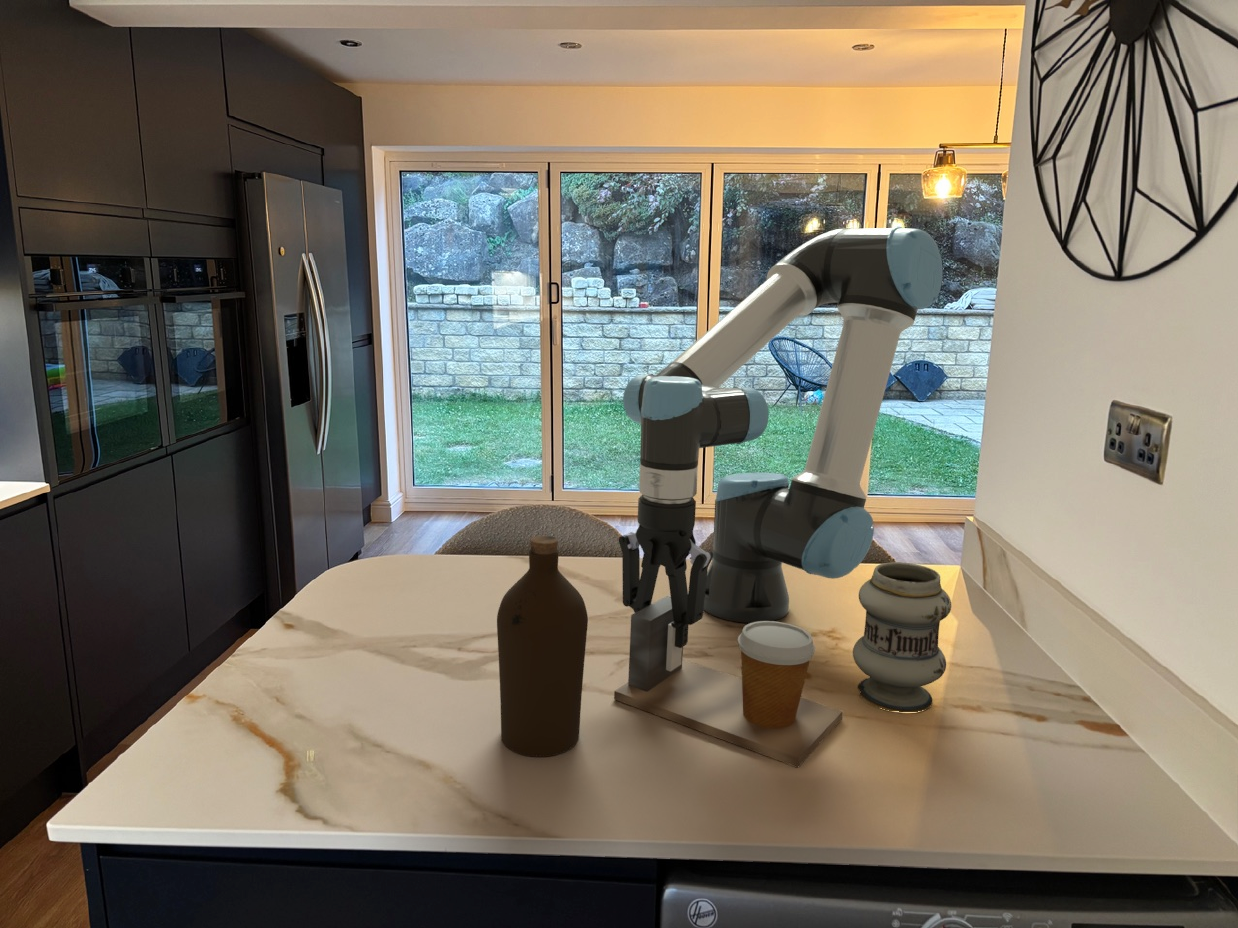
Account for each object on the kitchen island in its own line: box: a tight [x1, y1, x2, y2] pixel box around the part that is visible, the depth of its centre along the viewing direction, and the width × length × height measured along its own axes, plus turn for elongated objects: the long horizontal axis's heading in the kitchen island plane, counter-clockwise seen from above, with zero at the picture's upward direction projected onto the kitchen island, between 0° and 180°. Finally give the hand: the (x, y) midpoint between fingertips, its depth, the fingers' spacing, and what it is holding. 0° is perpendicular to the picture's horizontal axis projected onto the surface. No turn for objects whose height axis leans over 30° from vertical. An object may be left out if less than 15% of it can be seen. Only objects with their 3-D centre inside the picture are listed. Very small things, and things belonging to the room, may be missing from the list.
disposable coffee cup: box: [737, 620, 816, 728], centre depth 109 cm, size 10×10×12 cm
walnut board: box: [613, 595, 843, 768], centre depth 113 cm, size 26×14×11 cm, turn 55°
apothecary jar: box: [852, 561, 952, 712], centre depth 117 cm, size 12×12×18 cm
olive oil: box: [496, 535, 589, 758], centre depth 103 cm, size 11×11×25 cm
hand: (659, 662), depth 119 cm, fingers open, 4 cm apart
